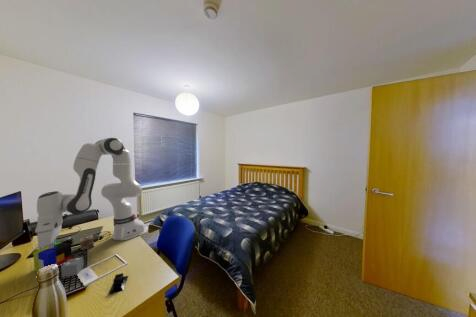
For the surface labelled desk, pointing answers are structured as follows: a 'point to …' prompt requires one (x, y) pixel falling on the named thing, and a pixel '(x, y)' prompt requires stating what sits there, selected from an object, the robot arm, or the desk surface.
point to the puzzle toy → (52, 255)
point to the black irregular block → (118, 283)
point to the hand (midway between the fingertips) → (52, 247)
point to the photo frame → (89, 276)
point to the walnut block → (87, 242)
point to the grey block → (72, 267)
